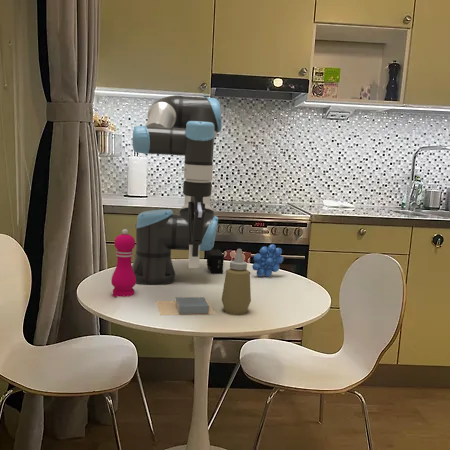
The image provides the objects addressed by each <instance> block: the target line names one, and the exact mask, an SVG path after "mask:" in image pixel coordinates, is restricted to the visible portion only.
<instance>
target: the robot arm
mask: <svg viewBox="0 0 450 450" xmlns="http://www.w3.org/2000/svg"><path fill="white" fill-rule="evenodd" d="M221 109H222V108H221V104H220V101H219V99H217V98H214V97H208V96H205V97H204V96H191V95H190V96H189V95H176V94H175V95H169V96H166V97H162V98H159V99H158V100H156V101H154V102H153V103H152V104H151V106H150V107H149V109H148V111H147V121H146V123H145V125H136V126H134V128H133V129H132V150H133V151H134V153H137V154H144V155H167V156H182V157H183V156H184V167H181V171H182V172H183V179H185V180H184V181H183V182H182V183H183V184H182V195H183V196H184V202H183V203H184V205H183V206H181V207H180V208H179V213H178V214H174V212H173V210H172V209H165V208H163V209H152V210H146V211H142V212H140V213H139V214H138V215H137V217H136V226H135V229H136V232H135V233H136V235H135V236H136V237H135V255H134V256H135V257H134V259H133V262H132V264H131V265H132V269H133V271H134V274H135V277H136V284H140V285H146V286H147V285H148V286H160V285H161V286H162V285H167V284H168V285H169V284H171V283H174V282H175V280H176V270H175V267H174V265H173V260H172V250H176V251H177V250H178V251H188V265H187V267H188V269H199V268H200V257H201V256H200V254H201V252H207V251H208V252H209V250H213V248H214V245H215V240H216V236H217V235H216V234H217V228H218V224H219V217H218V216H217V215H215V210H214V209H213V208H212V207H211V195H212V188H213V187H212V186H213V185H212V180H213V172H214V171H213V170H214V165H213V164H214V163H213V161H214V149H215V147H214V146H215V139H216V138H217V137H218V133H220V132H221V131H222V110H221ZM200 251H201V252H200Z"/></svg>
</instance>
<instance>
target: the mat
mask: <svg viewBox="0 0 450 450" xmlns="http://www.w3.org/2000/svg"><path fill="white" fill-rule="evenodd" d="M155 302H156V306H157V309H158V312H159V315H160V316H180V315H181V316H182V315H183V316H186V315H187V316H188V315H189V316H190V315H195V314H179V312H178V310H177V307H176V305H175V303H176V300H165V301H164V300H157V301H155ZM206 302H207V303H208V305H209V313H207V314H206V315H216V311H215V310H214V308H213V307H212V305H211V303H210V301H209V300H206Z"/></svg>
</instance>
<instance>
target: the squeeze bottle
mask: <svg viewBox="0 0 450 450" xmlns="http://www.w3.org/2000/svg"><path fill="white" fill-rule="evenodd" d="M242 250H243V249H241V248H237V249H236V253H235V256H234V259H233V260H231V261H230V262H229V268H228V269H226V271H225V276H224V283H223V289H222V294H221V302H222V306H223V311H224V312H225V313H228V314H230V315H245V314H247V311H248V308H249V306H250V304H251V301H252V295H251V292H252V291H251V290H252V289H251V272H250V271H249V270H248V269H247V268H248V262H246V261H244V256H243V251H242Z"/></svg>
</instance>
